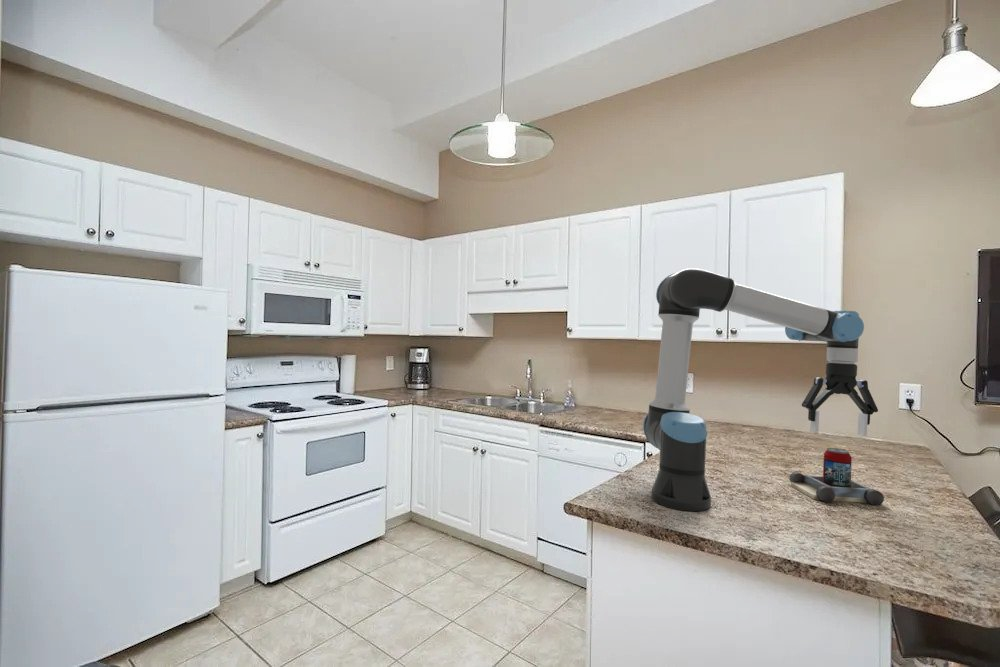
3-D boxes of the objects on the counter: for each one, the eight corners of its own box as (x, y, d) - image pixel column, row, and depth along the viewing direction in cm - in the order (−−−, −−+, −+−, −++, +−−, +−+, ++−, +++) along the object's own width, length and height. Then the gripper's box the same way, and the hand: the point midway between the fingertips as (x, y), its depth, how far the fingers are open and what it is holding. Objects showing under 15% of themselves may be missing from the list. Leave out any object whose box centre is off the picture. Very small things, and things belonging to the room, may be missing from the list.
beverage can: (826, 492, 137) (827, 451, 137) (820, 485, 143) (821, 446, 144) (853, 495, 135) (855, 454, 135) (846, 488, 141) (847, 449, 141)
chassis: (818, 501, 132) (818, 487, 132) (787, 484, 148) (787, 471, 148) (885, 505, 130) (886, 491, 130) (847, 487, 146) (847, 474, 146)
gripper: (876, 364, 142) (873, 434, 142) (791, 359, 144) (787, 428, 144) (895, 365, 135) (891, 439, 134) (805, 360, 136) (801, 433, 136)
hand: (838, 434), depth 139 cm, fingers open, 13 cm apart
